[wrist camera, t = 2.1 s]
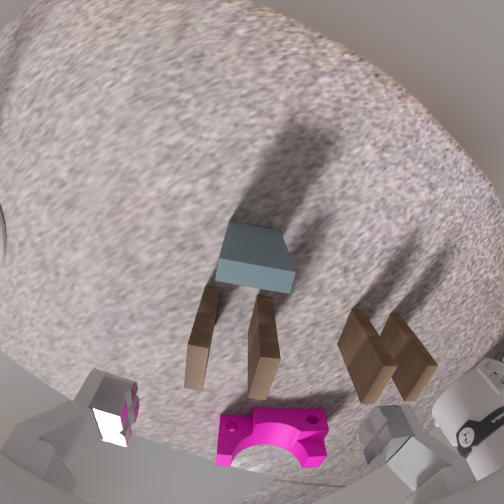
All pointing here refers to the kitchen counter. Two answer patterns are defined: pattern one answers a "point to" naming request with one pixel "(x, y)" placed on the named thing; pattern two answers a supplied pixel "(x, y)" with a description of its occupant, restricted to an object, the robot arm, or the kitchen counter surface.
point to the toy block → (275, 434)
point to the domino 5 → (407, 358)
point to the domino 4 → (365, 357)
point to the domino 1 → (201, 339)
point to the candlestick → (2, 239)
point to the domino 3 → (262, 349)
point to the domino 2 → (255, 258)
